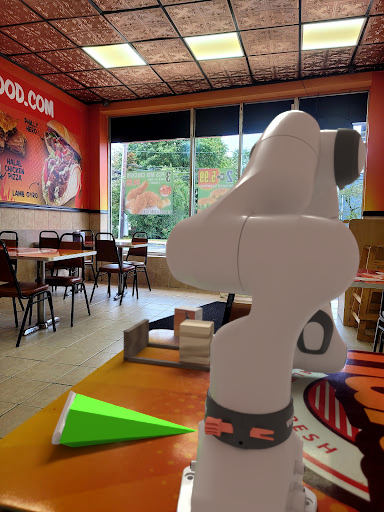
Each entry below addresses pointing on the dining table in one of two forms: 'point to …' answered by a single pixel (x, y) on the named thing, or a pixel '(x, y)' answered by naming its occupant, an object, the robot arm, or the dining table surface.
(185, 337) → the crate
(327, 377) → the dining table surface
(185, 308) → the small box
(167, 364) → the bay
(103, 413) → the paper cone
